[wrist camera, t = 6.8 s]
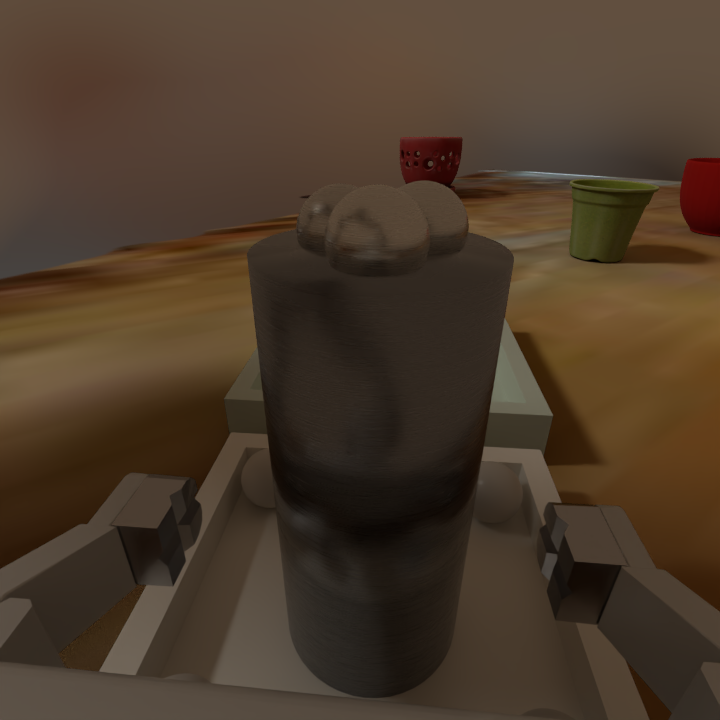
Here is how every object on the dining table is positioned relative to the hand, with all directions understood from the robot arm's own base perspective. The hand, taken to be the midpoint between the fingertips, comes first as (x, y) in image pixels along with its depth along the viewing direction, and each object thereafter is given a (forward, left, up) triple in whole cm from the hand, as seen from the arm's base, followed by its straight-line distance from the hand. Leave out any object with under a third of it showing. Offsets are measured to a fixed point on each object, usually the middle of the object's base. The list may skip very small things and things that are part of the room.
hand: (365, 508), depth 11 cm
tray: (0, +2, -7) cm, 8 cm away
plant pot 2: (+25, +52, -8) cm, 58 cm away
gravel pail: (0, +2, -6) cm, 7 cm away
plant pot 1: (+6, +101, -8) cm, 101 cm away
